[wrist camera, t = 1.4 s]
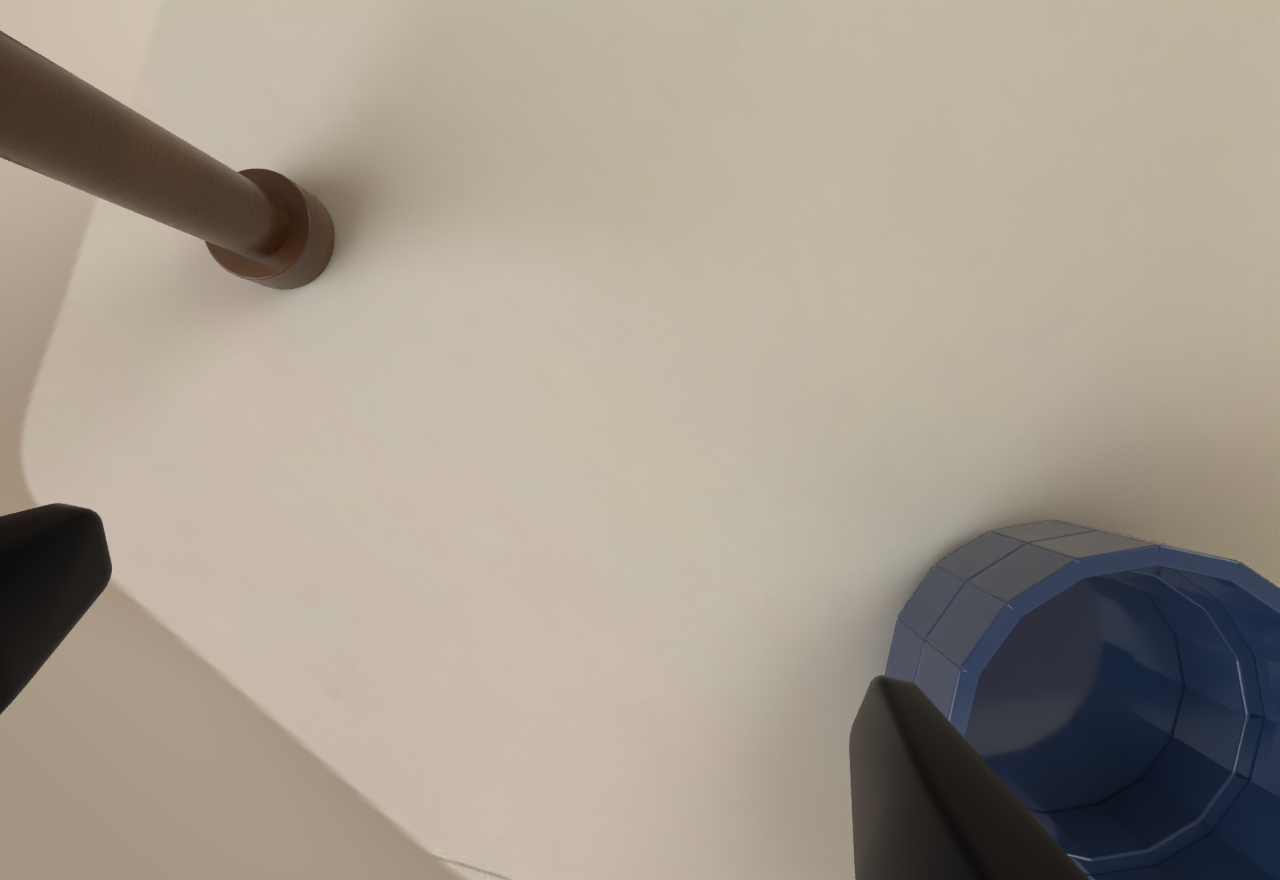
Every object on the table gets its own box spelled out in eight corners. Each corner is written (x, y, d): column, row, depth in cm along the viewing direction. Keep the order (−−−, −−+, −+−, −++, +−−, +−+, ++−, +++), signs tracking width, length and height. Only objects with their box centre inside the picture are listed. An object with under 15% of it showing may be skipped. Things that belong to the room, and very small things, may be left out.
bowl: (1076, 889, 21) (1204, 1034, 16) (818, 712, 21) (866, 800, 16) (1261, 636, 21) (1451, 703, 16) (997, 457, 21) (1103, 467, 16)
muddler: (297, 309, 22) (-349, 102, 8) (214, 252, 22) (-576, -56, 8) (354, 224, 21) (-202, -143, 8) (270, 165, 21) (-431, -299, 8)
